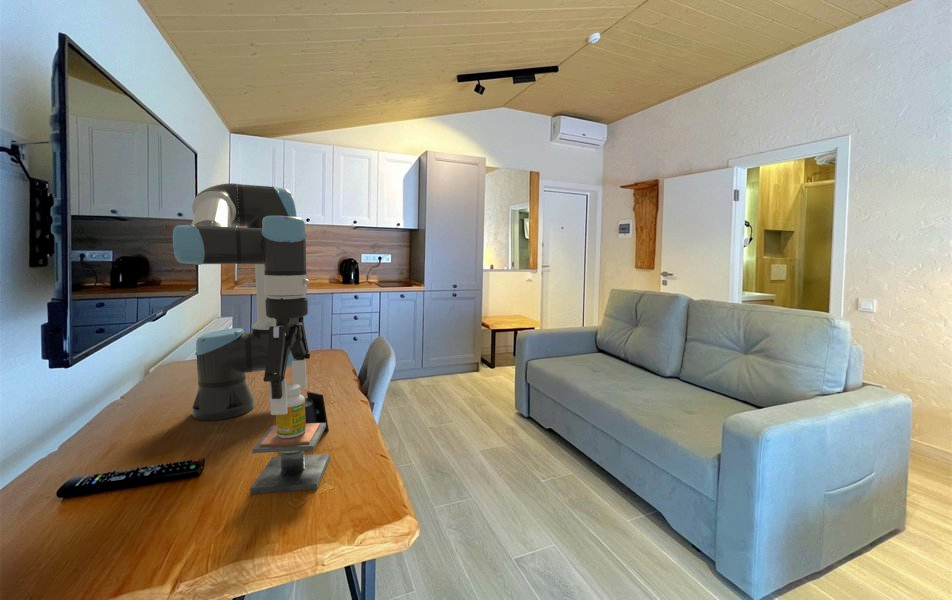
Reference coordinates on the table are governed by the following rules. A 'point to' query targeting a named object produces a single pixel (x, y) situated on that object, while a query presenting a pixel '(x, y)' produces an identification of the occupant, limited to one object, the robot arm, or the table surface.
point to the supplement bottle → (292, 414)
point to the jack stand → (291, 461)
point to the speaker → (315, 409)
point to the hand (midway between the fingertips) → (290, 400)
